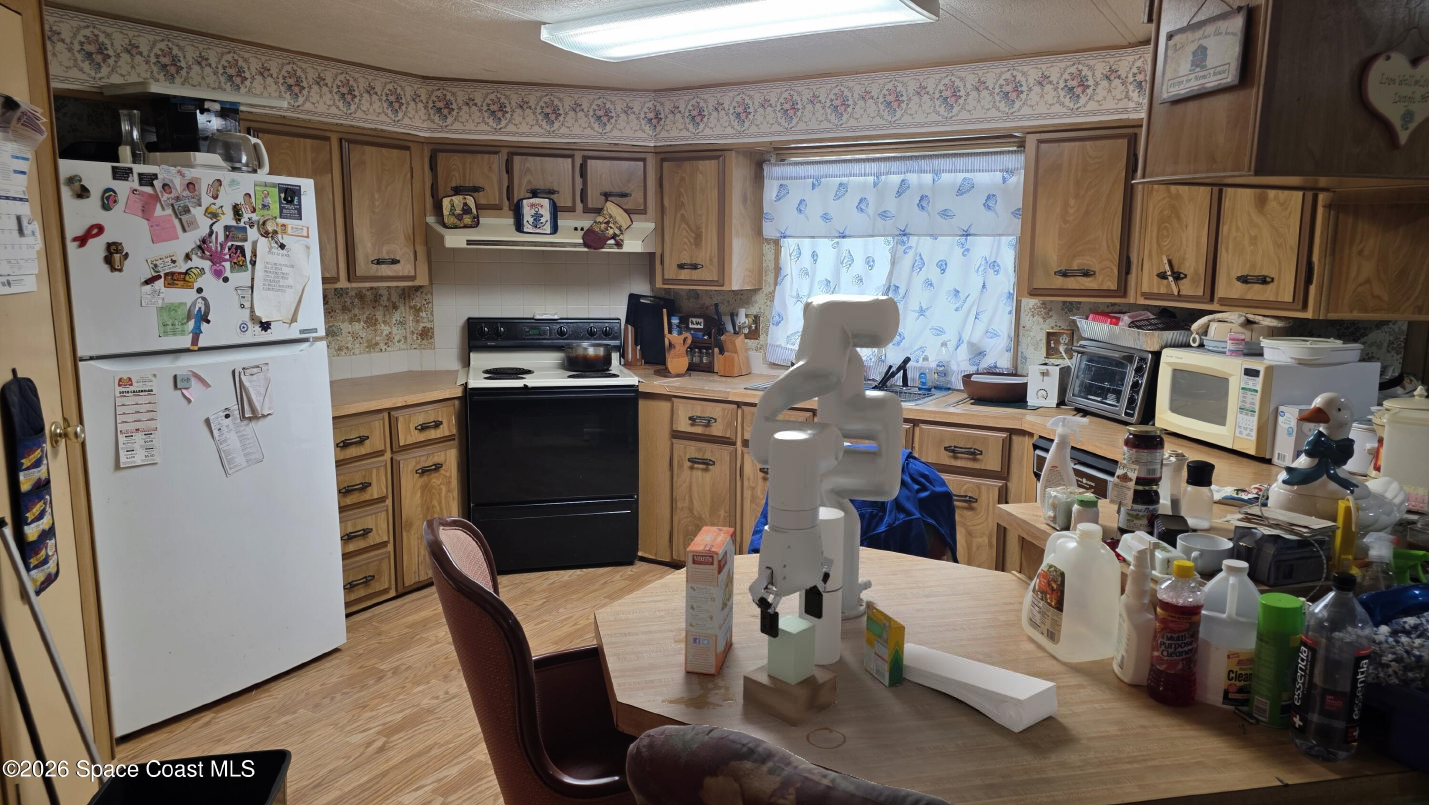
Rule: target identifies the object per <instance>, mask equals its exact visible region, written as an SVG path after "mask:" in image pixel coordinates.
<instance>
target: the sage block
mask: <svg viewBox="0 0 1429 805" xmlns="http://www.w3.org/2000/svg"><path fill="white" fill-rule="evenodd" d="M815 627H816V624H815V623H812V622H809V621H806V620H804V619H801V618H799V616H795V615H792V614H791V613H790V614H787V615H785V616H783V617H781V618H780V617H779V636H778V637H777V638H772V637H770V636H768V635H767V663H768V665H767V674H769V675H771V676H773V677H776V678H778V679H780V680H783V681H785V682H787V683H790V684H792V685H794V684H796V683H798V682H800V681H802V680H804V679H806V678H807V677H809V676H811V675H813V674H814V666H815V664H814V661H815Z"/></svg>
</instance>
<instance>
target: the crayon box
mask: <svg viewBox="0 0 1429 805" xmlns="http://www.w3.org/2000/svg"><path fill="white" fill-rule="evenodd" d="M865 622H866V624H865V643H864V662H863V664H864V665H863V668H864V670H867V672H869V673H870V674H871V675H873V676H874V677H875V678H876V679H877V680H879V681H880V682H881V683H882V684H883V685H884V686H885V687H887V688H888V687H890V688H891V687H894V686H898V685H899V686H900V685H903V678H904V677H903V659H904V644H905V634H906V626H905V624H904V625H903V623H901V622H899V621H897V620H896V619H895V618H893V617H892V616H890V615H888V613H886V612H884V611H883V610H881V609H880V608H878V607H876V606H875V605H874V604H872V603H871V602H869V601H866V621H865Z"/></svg>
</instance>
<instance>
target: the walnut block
mask: <svg viewBox="0 0 1429 805" xmlns="http://www.w3.org/2000/svg"><path fill="white" fill-rule="evenodd" d="M767 665H768V662H767V663H765V664H764V663H763V665H761V666H758V667H756V668H754V669H753V670H750V671H748V672H746V673H744V674H743V676H742V678H743V679H742V680H743V682H742V705H744V706H747V707H748V708H751V709H753V710H755V711H757V712H760V713H762V714H764V715H766V716H768V717H771V718H773V719H775V720H777V721H778V722H780V723H784V724H785V725H787V726H790V727H792V728H794V729H795V728H797V727H799V726H800V725H802V724H804V723H806V722H807V721H809V720H810V719H812V718H814V717H816V716H817V715H819V714H821V713H823V712H824V711H826V710H828V709H829V708H831V707H833V706H835V705H836V704H837V684H838V683H837V681H838V674H837V673H834V672H833V671H829V670H828V669H824V668H822V667H819V666H816V665H814V674H813V675H811V676H809V677H807V678H806V679H804V680H802V681H800V682H798V683H796V684H794V685H792V684H790V683H787V682H785V681H783V680H780V679H778V678H776V677H773V676H771V675H769V674H767Z"/></svg>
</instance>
